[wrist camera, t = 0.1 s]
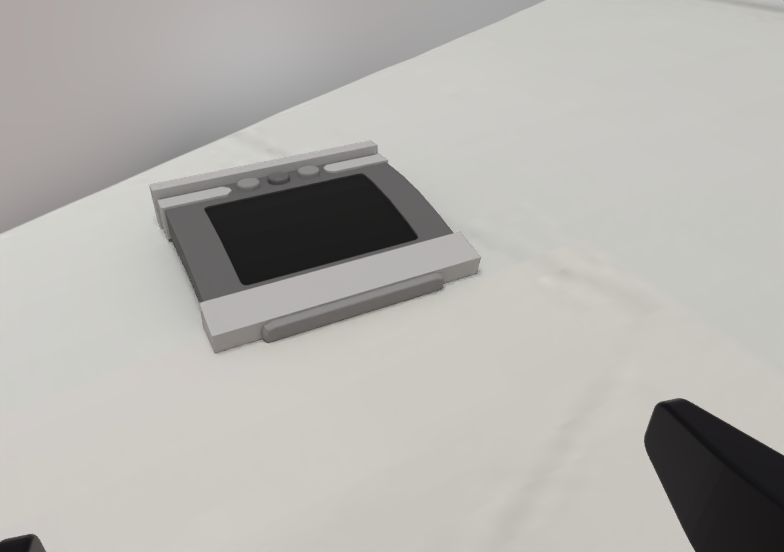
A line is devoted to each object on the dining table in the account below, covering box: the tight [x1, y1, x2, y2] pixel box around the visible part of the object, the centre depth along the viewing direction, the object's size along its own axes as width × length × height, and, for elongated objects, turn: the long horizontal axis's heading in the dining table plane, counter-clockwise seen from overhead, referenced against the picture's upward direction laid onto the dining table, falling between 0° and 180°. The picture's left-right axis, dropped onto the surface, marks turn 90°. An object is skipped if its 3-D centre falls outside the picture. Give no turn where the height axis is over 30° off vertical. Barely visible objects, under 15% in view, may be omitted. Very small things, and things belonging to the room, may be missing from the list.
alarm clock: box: [149, 141, 481, 353], centre depth 44 cm, size 17×5×16 cm
